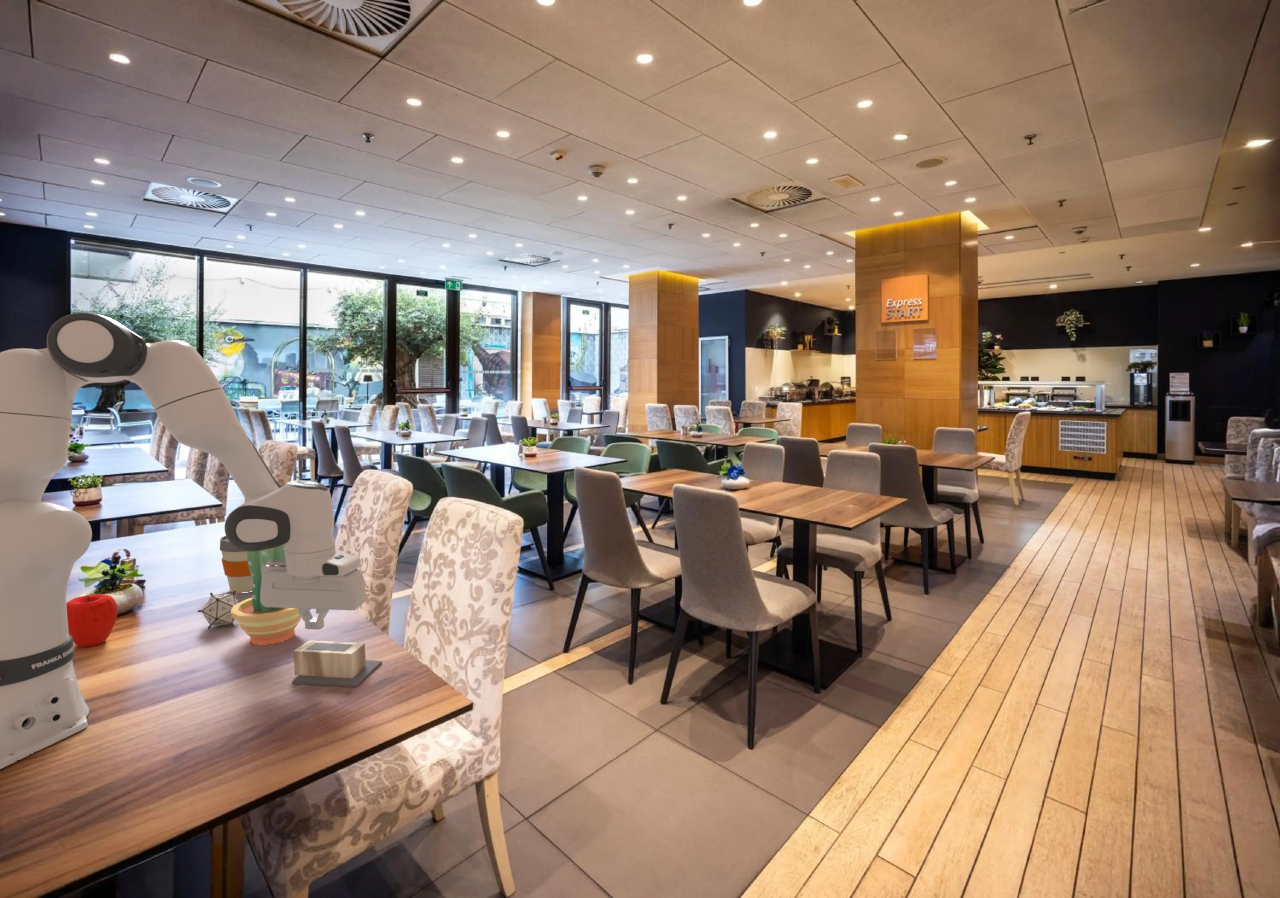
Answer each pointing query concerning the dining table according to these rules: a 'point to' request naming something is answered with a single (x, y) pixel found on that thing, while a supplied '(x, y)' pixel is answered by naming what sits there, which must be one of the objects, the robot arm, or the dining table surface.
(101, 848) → the dining table surface
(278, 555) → the potted cactus
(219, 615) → the game die
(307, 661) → the birch block
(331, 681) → the mat
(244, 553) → the reusable coffee cup
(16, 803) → the dining table surface
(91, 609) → the apple
